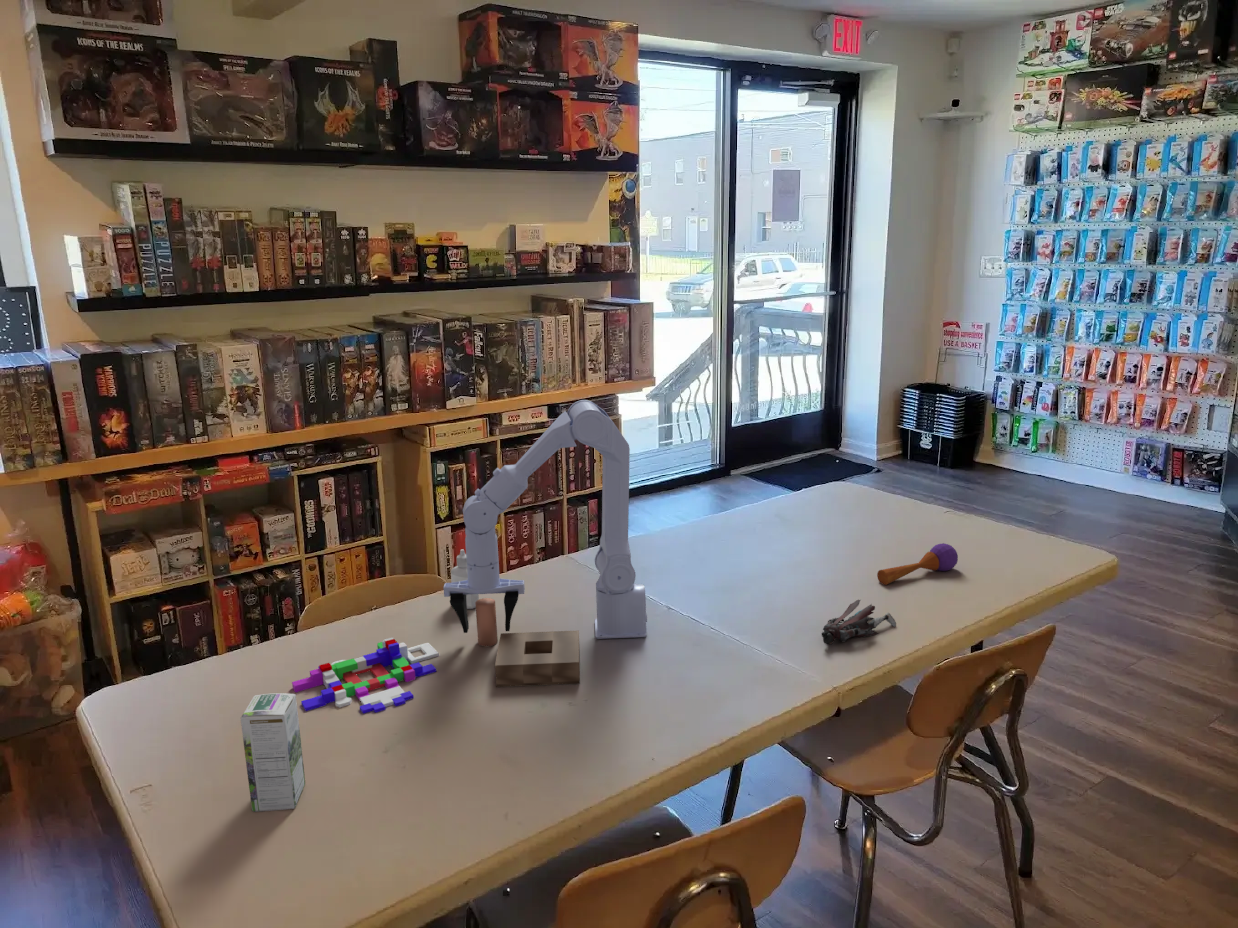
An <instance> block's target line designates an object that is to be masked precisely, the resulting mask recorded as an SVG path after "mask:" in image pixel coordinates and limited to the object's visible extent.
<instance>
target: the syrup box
mask: <svg viewBox="0 0 1238 928" xmlns="http://www.w3.org/2000/svg"><path fill="white" fill-rule="evenodd" d="M299 722H300V720H299V714H298V704H297V694H295V693H285V692H284V693H283V692H282V693H281V692H279V693H278V692H277V693H276V692H275V693H263V694H262V693H261V694H256V695H253V696H252V699H251V700H250V702H249V703H248V705H247V707H246V709H245V710H244V712H243V714H242V715H241V717H240V725H241V734H242V741H243V748H244V756H245V757H244V758H245V764H246V765H245V766H246V773H247V780H248V788H249V789H248V790H249V795H250V804H251V811H252V812H253V813H254V812H255V813H258V812H269V811H270V812H271V811H272V812H273V811H282V810H283V811H285V810H295V809H296V807H297V805H298V802H299V801H300V799H301V795H302V792H303V791H304V788H305V786H306V777H305V768H304V767H305V766H304V759H303V757H304V755H303V747H302V738H301V730H300V723H299Z"/></svg>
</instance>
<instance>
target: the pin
mask: <svg viewBox="0 0 1238 928" xmlns="http://www.w3.org/2000/svg"><path fill="white" fill-rule="evenodd" d="M475 605H476V607H475V614H476V615H475V616H476V619H475V620H476V631H477V643H478V645H479V646H482V647H492V646H494V645H496V644H498V643H499V640H498V624H497V609H496V608H497V607H496V600H495V599H494V598H490V597H483V598H480V599H479V600H477V601H476V602H475Z"/></svg>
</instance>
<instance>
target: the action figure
mask: <svg viewBox="0 0 1238 928" xmlns="http://www.w3.org/2000/svg"><path fill="white" fill-rule="evenodd" d="M860 602H861V599H857V600H856V599H855V601H854V602H852V603H850V604H849V605H848V607H847V608H846V610H845V611H844V612H843V613H842V615H841V616H839V617H835V618H832V619H829V620H827V623H826V624H825V625H824V626H823V628H822V632H820V633H821V637H822V639H823V640H822V641H823V643H824V644H825V645H826V646H828V645H833V643H834V642H835V640H839V641H840V642H843V643H845V642H847V640H848V639H850V638H865V637H871V636H876V635H878V634H880V633H879V632H877V631H876V630H875V629H876V628H877V627H878V626H880V624H881V623H883V622H884V621H886V622H887V623H889V624H890V625H891V627H894V628H895V627H896V626H897V622H896V620H895V618H894V617H893V616H892V614H891V613H889V612H886V613H885V615H882V616H879V617H875V618H873V617H869V616H870V615H872V614H874V611H875V610H876V606H875V605H873V604H872V603H871V604H869V605H867V606H866V607H864V608H863V609H860V610H858V611H857V612H855V613H854V614H853V615H851V616H849V615H850V614H851V613H853V611H854V610H856V609H857V607H859V605H860ZM848 616H849V617H848ZM846 617H848V619H846V620H845V618H846Z"/></svg>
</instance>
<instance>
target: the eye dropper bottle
mask: <svg viewBox="0 0 1238 928" xmlns="http://www.w3.org/2000/svg"><path fill="white" fill-rule="evenodd" d="M459 551H460V552H459V554H458V555H457V556H456V566H454V567H452V568H451V570H450V579H451V582H450V583H452V582H458V581H464V580H468V573H467V559H466V551H465V550H464V548H463V549H460V550H459ZM479 595H480V594H468V595H466V601H467V610H473V609H476V605H475V602H476V601H477V600H479Z"/></svg>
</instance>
